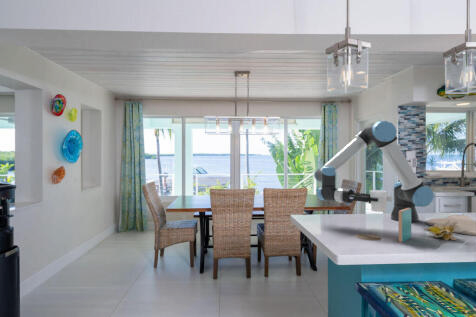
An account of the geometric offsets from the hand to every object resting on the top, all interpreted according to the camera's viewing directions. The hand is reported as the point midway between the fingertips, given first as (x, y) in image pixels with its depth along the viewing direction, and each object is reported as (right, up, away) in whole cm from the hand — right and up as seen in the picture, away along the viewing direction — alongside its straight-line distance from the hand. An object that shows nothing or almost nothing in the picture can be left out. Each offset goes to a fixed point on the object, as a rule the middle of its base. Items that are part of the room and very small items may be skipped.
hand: (388, 199), depth 155 cm
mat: (+7, -18, -13) cm, 23 cm away
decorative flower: (+22, -18, -6) cm, 29 cm away
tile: (+3, -17, -10) cm, 20 cm away
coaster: (-12, -18, -5) cm, 22 cm away
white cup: (-3, -6, +3) cm, 8 cm away
